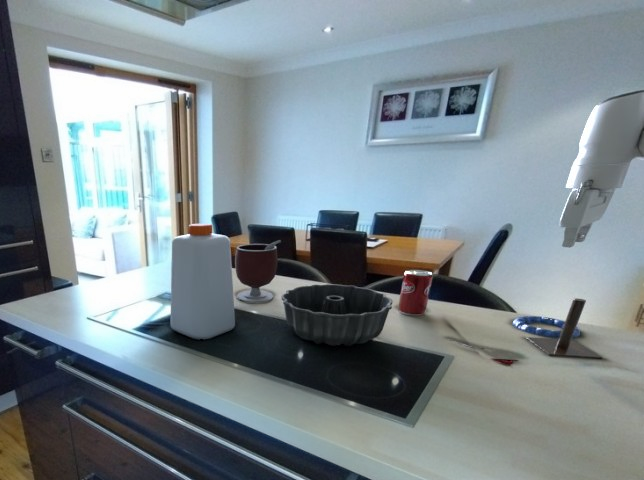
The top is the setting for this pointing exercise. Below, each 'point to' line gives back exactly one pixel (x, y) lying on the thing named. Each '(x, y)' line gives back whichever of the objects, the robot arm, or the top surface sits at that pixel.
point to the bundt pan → (336, 313)
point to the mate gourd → (256, 269)
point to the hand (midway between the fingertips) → (573, 244)
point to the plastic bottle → (201, 283)
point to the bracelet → (522, 325)
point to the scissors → (503, 361)
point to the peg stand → (566, 337)
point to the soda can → (415, 292)
